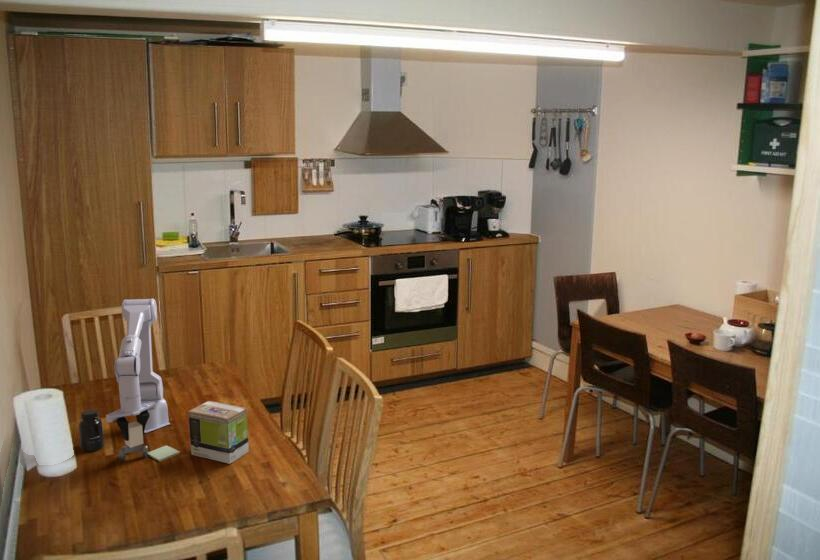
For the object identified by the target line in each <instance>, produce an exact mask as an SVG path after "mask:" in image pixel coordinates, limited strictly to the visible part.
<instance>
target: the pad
mask: <svg viewBox="0 0 820 560" xmlns="http://www.w3.org/2000/svg"><path fill="white" fill-rule="evenodd" d="M180 452H181V451H179V450H177V449H175V448H173V447H172V446H170V445H169V446H168V445H163V446H161V447H158V448H155V449H153V450H150V451H148V454H149V457H150V458H152V459H154V460H156V461H158V462H162V461H165V460H167V459H169V458H173V457H174V456H178V455H179V453H180Z"/></svg>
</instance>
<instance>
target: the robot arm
mask: <svg viewBox="0 0 820 560" xmlns="http://www.w3.org/2000/svg"><path fill="white" fill-rule="evenodd" d="M157 309H158V307H157V301H156V300H155V298H152V297H151V298H145V299H144V298H138V299H127V298H126V299H124V300H123V301H122V303H121V316H122V317H123V318H124V321H125V322H126V324H127V325H126V335H125V337H123V338H122V339H121V343H120V348H119V354H118V358H116V359H115V361H114V367H113V368H114V374H115V377H116V383H118V391H119V402H120V408H119V409H117V410H115V411H113V412H110V413H107V414H105V420H106V422H107V423H113V421H114V422H115V423H116V424H117V427H118V428H119V430H120V432H121V435H122V437H123V438H122V439H123V441H125V440H126V441H128V440H129V435H128V423H130V422H129V421H128V420H127V417H131V416H135V417H136V421H137V422H138V423H140V424H141V425H142V431H143V437H144V434H147V433H150V432H153V431H156V430H159V429H161V428H163V427H166V426H169V425H171V422H169V420H170V419H169V410H168V404H167V401H166V399H165V398H164V385H163V379H162V377H161V376H160V375H159V374H157V373H156V372H154V371H153V370H154V369H153V354H152V352H153V350H152V349H153V348H152V324H154V323H156V322H157V320H158V310H157Z"/></svg>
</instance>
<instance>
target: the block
mask: <svg viewBox="0 0 820 560" xmlns="http://www.w3.org/2000/svg"><path fill="white" fill-rule="evenodd" d="M128 435H129V440H128V441H126V440H124V444H125V445H128V446H129V447H130V448H131V447H135V446H142V445H143V444H144V436H143V431H142V425H141V424H140V423H138V422H137V420H136V421H132V422H129V423H128ZM144 445H145V444H144Z"/></svg>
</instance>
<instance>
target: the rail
mask: <svg viewBox="0 0 820 560" xmlns="http://www.w3.org/2000/svg"><path fill="white" fill-rule="evenodd" d="M140 452H141V455H142V456H141V457H142V458H143V459H148V458H149V457H150V456H149V454H148V452H149V445H148V444H147V445H146V444H144V445H143V444H142V445H138V446H135V447H131V448H130V447H129V446H128V445H126V444H125V445H124V446H122V447H121V448H119V449H118V457H119V458H118V459H119V462H125V461H127V459H126V457H127V456H126V454H131V453H132V454H133V453H140Z"/></svg>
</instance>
